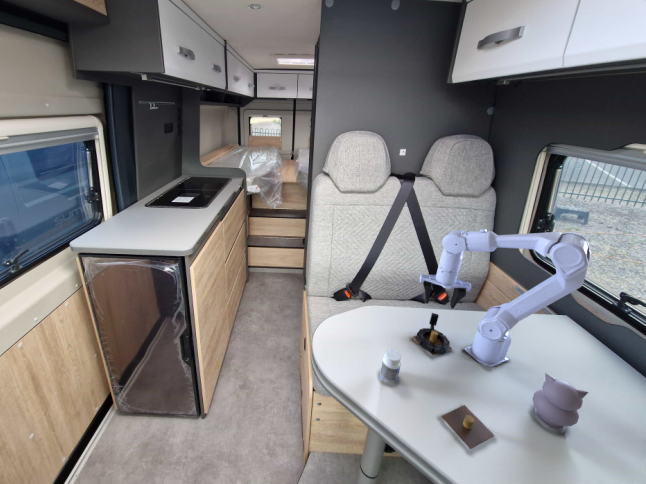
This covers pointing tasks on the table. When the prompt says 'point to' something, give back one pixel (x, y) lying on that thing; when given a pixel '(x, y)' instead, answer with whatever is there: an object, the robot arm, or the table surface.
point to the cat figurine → (558, 403)
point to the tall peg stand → (432, 341)
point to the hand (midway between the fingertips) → (438, 304)
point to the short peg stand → (467, 426)
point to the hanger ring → (427, 331)
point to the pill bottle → (390, 366)
